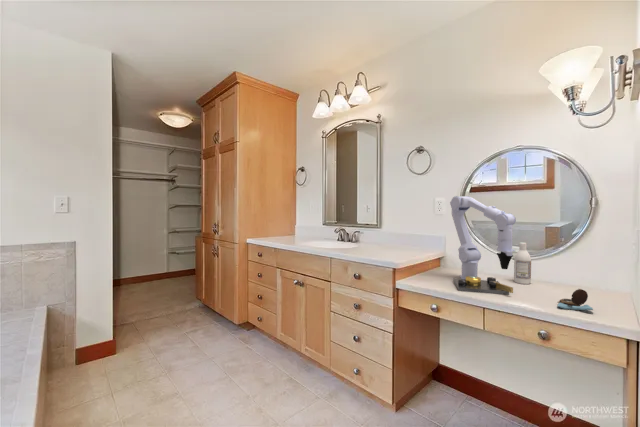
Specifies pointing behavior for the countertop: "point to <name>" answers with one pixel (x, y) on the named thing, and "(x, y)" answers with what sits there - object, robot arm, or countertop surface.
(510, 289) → the wooden stick
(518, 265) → the bath foam
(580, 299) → the compass
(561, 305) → the bow tie
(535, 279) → the countertop surface
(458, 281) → the plate
